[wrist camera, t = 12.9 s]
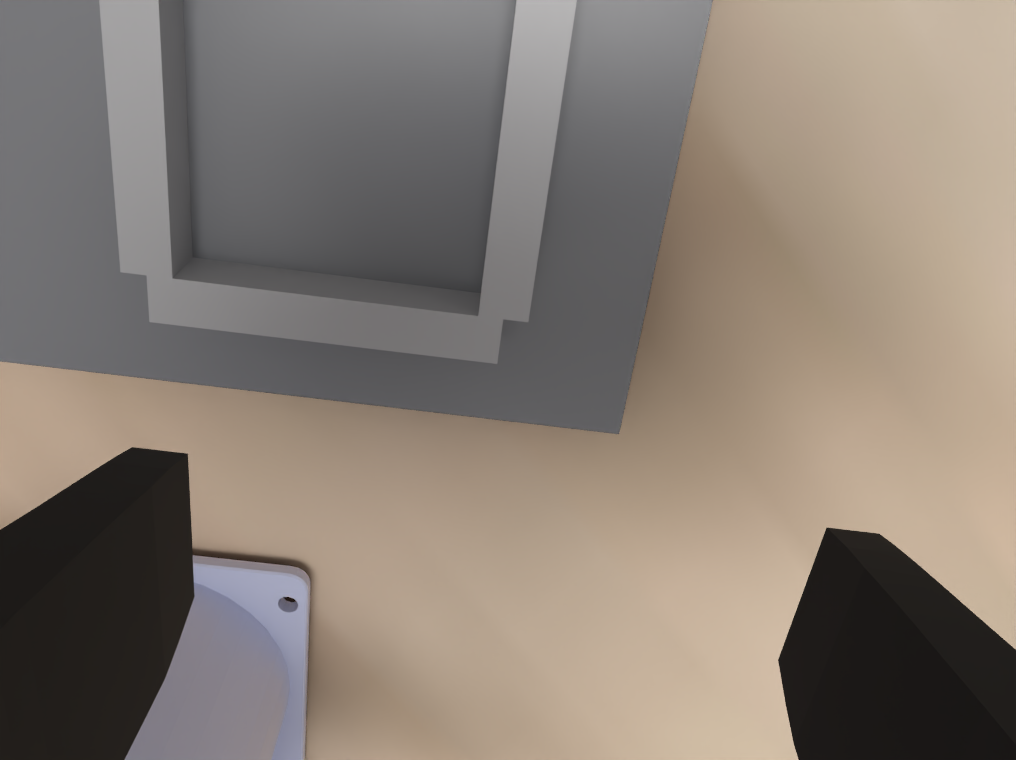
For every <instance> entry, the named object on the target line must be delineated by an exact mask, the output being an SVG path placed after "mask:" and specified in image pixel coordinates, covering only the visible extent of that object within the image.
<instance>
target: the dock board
mask: <svg viewBox="0 0 1016 760" xmlns="http://www.w3.org/2000/svg"><path fill="white" fill-rule="evenodd" d="M712 2H713V0H0V361H2V362H11V363H19V364H28V365H36V366H45V367H53V368H62V369H70V370H79V371H87V372H96V373H104V374H113V375H121V376H129V377H138V378H146V379H155V380H163V381H172V382H180V383H189V384H197V385H206V386H214V387H223V388H231V389H240V390H248V391H257V392H265V393H274V394H282V395H291V396H299V397H308V398H316V399H325V400H333V401H342V402H350V403H359V404H367V405H376V406H384V407H393V408H401V409H410V410H418V411H427V412H435V413H444V414H452V415H461V416H469V417H478V418H486V419H495V420H503V421H512V422H520V423H529V424H537V425H546V426H554V427H563V428H571V429H580V430H588V431H597V432H605V433H614V434H619V432H620V427H621V423H622V418H623V413H624V409H625V404H626V399H627V395H628V390H629V386H630V381H631V376H632V372H633V367H634V362H635V358H636V353H637V348H638V344H639V339H640V335H641V330H642V325H643V321H644V316H645V311H646V307H647V302H648V298H649V293H650V288H651V284H652V279H653V274H654V270H655V265H656V261H657V256H658V251H659V247H660V242H661V237H662V233H663V228H664V224H665V219H666V214H667V210H668V205H669V200H670V196H671V191H672V187H673V182H674V177H675V173H676V168H677V163H678V159H679V154H680V150H681V145H682V140H683V136H684V131H685V126H686V122H687V117H688V113H689V108H690V103H691V99H692V94H693V89H694V85H695V80H696V76H697V71H698V66H699V62H700V57H701V52H702V48H703V43H704V39H705V34H706V29H707V25H708V20H709V15H710V11H711V6H712Z"/></svg>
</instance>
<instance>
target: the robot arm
mask: <svg viewBox="0 0 1016 760" xmlns="http://www.w3.org/2000/svg"><path fill="white" fill-rule="evenodd" d="M310 584H311V583H310V578H309V576H308V575H307V574H306V572H305V571H303V570H301V569H300V568H297V567H293V566H287V565H278V564H269V563H259V562H250V561H241V560H232V559H223V558H214V557H204V556H195V555H193V554H192V533H191V512H190V491H189V470H188V454H185V453H177V452H168V451H160V450H151V449H142V448H134V447H132V448H130V449H128V450H127V451H125V452H123V453H121V454H120V455H118V456H116V457H115V458H113V459H111V460H110V461H108V462H107V463H105V464H103V465H102V466H100V467H99V468H97V469H95V470H94V471H92V472H91V473H89V474H88V475H86V476H85V477H83V478H81V479H80V480H78V481H77V482H75V483H74V484H72V485H71V486H69V487H68V488H66V489H64V490H63V491H61V492H60V493H58V494H57V495H55V496H54V497H52V498H50V499H49V500H47V501H46V502H44V503H43V504H41V505H39V506H38V507H36V508H35V509H33V510H31V511H30V512H28V513H27V514H25V515H23V516H22V517H20V518H19V519H17V520H15V521H14V522H12V523H11V524H9V525H7V526H6V527H4V528H3V529H1V530H0V760H305V740H306V709H307V678H308V646H309V615H310ZM283 597H290V598H293V599H295V600H296V601H297V602H289V601H286V600H285V599H284V598H283ZM778 661H779V667H780V673H781V679H782V684H783V690H784V696H785V702H786V707H787V712H788V717H789V722H790V727H791V732H792V737H793V742H794V746H795V749H796V752H797V755H798V759H799V760H1016V650H1015V649H1014V648H1013V647H1012V646H1011V645H1010V644H1008V643H1007V642H1006V641H1005V640H1004V639H1003V638H1001V637H1000V636H999V635H998V634H997V633H996V632H995V631H993V630H992V629H991V628H990V627H989V626H988V625H986V624H985V623H984V622H983V621H982V620H981V619H980V618H978V617H977V616H976V615H975V614H974V613H973V612H972V611H970V610H969V609H968V608H967V607H966V606H965V605H964V604H962V603H961V602H960V601H959V600H958V599H957V598H956V597H955V596H953V595H952V594H951V593H950V592H949V591H948V590H947V589H945V588H944V587H943V586H942V585H941V584H940V583H939V582H937V581H936V580H935V579H934V578H933V577H932V576H930V575H929V574H928V573H927V572H926V571H925V570H923V569H922V568H921V567H920V566H919V565H918V564H917V563H915V562H914V561H913V560H912V559H911V558H909V557H908V556H907V555H906V554H905V553H903V552H902V551H901V550H900V549H898V548H897V547H896V546H895V545H893V544H892V543H891V542H889V541H888V540H887V539H885V538H884V537H883V536H882V535H880V534H876V533H868V532H859V531H851V530H842V529H833V528H826V531H825V534H824V536H823V539H822V542H821V545H820V547H819V550H818V553H817V556H816V558H815V561H814V564H813V567H812V569H811V572H810V575H809V577H808V580H807V583H806V586H805V588H804V591H803V594H802V597H801V599H800V602H799V605H798V608H797V610H796V613H795V616H794V619H793V621H792V624H791V627H790V629H789V632H788V635H787V638H786V640H785V643H784V646H783V649H782V651H781V654H780V657H779V660H778Z"/></svg>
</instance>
